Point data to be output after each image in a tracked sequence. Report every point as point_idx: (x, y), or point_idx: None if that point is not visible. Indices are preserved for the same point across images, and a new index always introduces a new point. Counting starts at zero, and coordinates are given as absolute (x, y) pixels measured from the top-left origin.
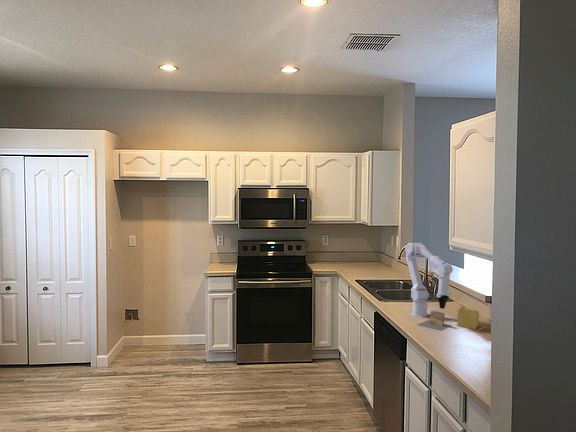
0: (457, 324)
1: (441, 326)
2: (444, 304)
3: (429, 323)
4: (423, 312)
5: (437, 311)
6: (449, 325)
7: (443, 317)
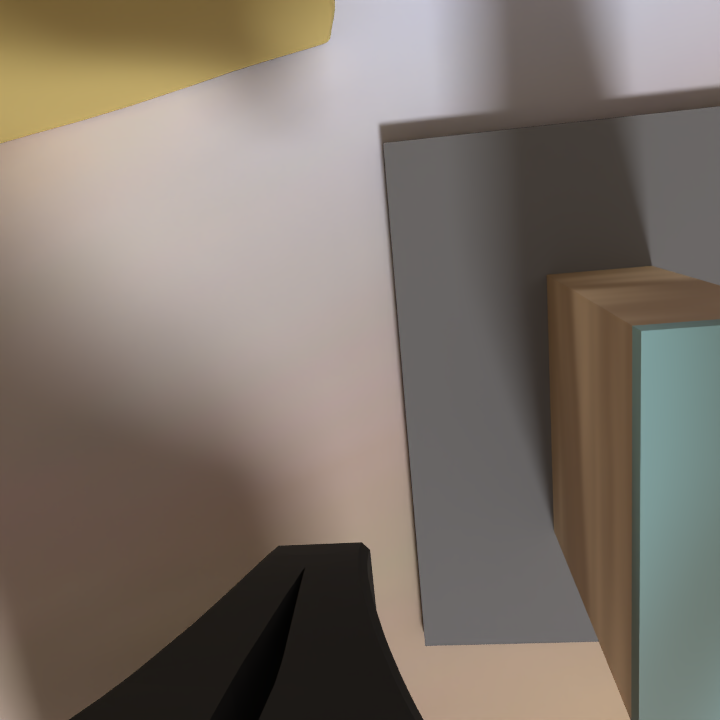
0: (331, 20)
1: (699, 252)
2: (357, 633)
3: None
4: None
5: (648, 585)
6: (446, 181)
7: (660, 300)
